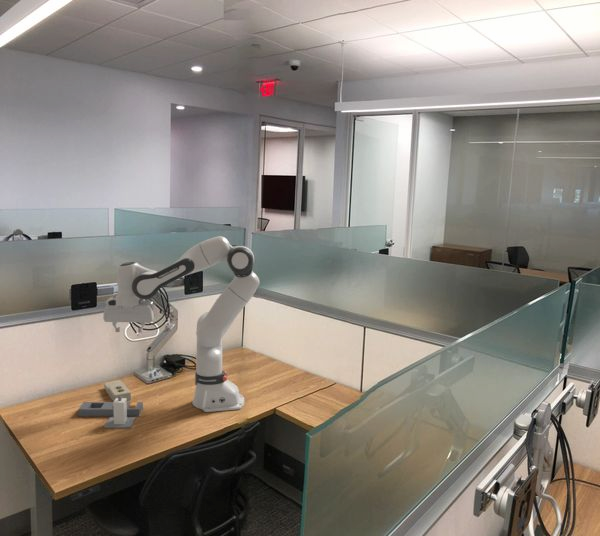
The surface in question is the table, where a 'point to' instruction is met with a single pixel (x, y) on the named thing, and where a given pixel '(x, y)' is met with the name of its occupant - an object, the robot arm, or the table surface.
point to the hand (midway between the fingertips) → (129, 332)
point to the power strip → (108, 409)
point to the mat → (111, 424)
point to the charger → (120, 410)
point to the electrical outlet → (117, 390)
